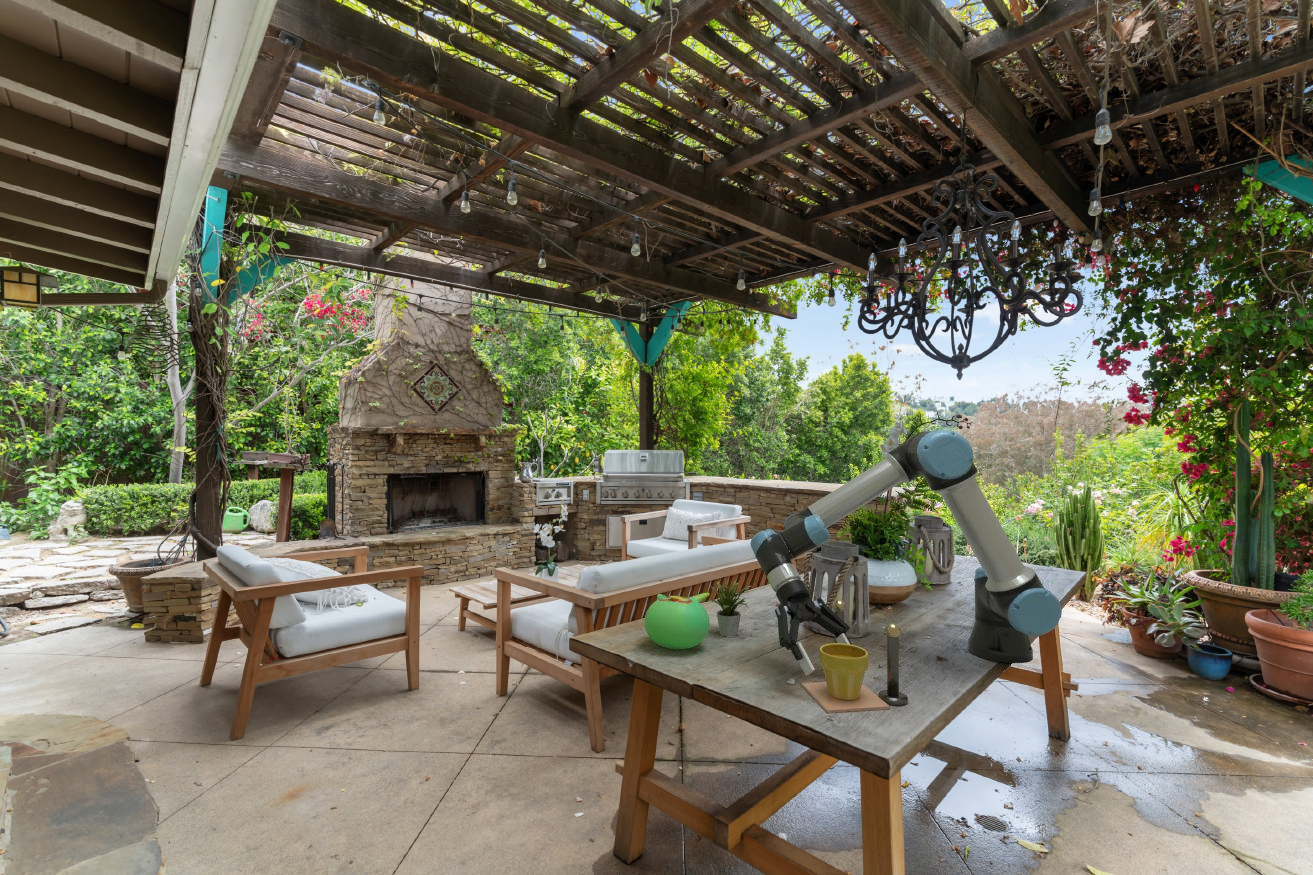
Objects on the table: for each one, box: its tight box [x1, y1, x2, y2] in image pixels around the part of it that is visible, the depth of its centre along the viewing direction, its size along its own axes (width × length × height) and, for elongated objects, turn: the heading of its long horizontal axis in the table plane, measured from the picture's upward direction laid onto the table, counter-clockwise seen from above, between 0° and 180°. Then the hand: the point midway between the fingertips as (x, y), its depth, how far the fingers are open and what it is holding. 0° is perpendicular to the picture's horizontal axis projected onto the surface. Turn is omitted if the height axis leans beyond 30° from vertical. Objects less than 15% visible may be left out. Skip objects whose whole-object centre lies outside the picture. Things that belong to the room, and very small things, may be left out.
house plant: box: [707, 578, 754, 637], centre depth 173 cm, size 14×14×16 cm
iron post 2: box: [877, 622, 909, 707], centre depth 129 cm, size 6×6×17 cm
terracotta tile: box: [801, 681, 891, 714], centre depth 131 cm, size 14×14×1 cm
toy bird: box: [644, 592, 711, 650], centre depth 163 cm, size 18×17×15 cm
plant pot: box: [818, 642, 869, 700], centre depth 131 cm, size 10×10×10 cm
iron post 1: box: [832, 599, 847, 643], centre depth 149 cm, size 6×6×17 cm
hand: (833, 667), depth 133 cm, fingers open, 13 cm apart
